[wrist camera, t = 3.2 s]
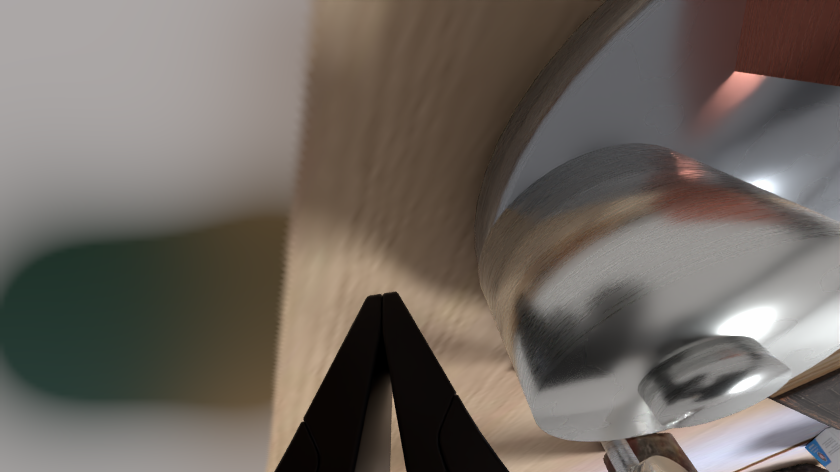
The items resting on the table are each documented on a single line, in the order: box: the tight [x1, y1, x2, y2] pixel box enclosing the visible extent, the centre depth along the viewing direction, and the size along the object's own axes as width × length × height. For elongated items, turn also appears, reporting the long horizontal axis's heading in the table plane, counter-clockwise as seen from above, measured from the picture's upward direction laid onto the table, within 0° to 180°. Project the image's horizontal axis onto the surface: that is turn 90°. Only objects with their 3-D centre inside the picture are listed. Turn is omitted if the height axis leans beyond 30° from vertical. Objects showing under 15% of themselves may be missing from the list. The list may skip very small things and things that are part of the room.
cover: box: [479, 143, 840, 442], centre depth 8 cm, size 7×7×5 cm
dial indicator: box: [600, 439, 688, 472], centre depth 15 cm, size 4×6×10 cm, turn 161°
